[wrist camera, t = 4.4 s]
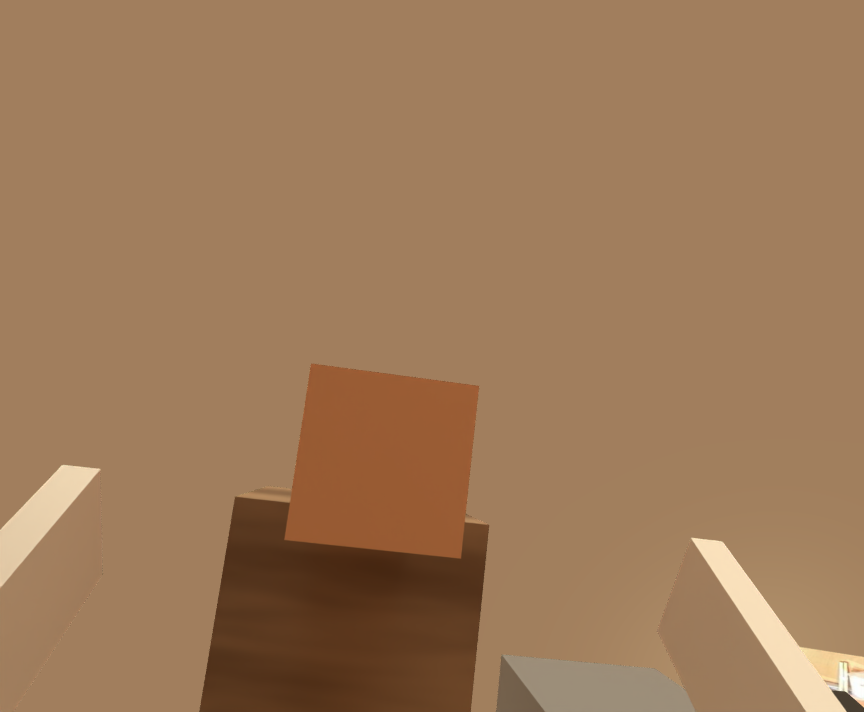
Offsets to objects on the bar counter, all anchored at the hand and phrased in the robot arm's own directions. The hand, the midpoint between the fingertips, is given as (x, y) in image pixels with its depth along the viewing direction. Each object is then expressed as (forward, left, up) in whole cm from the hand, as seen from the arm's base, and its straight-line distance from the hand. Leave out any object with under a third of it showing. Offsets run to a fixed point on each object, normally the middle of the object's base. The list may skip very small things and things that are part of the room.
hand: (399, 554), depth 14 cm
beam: (-6, +12, 0) cm, 13 cm away
